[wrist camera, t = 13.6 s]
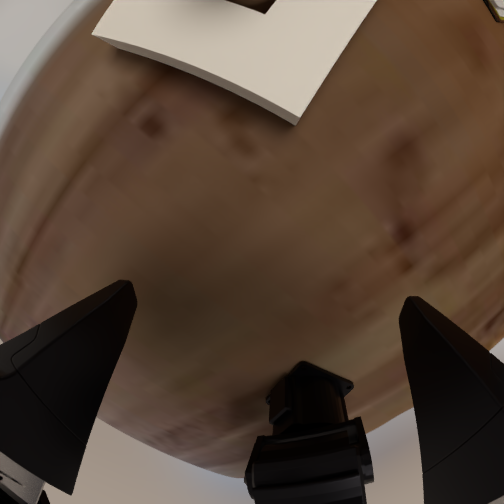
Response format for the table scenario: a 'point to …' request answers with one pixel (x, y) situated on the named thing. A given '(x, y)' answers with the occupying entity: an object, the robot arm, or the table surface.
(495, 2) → the harmonica
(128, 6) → the white board
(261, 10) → the walnut peg
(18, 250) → the table surface
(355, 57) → the table surface
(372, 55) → the table surface
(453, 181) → the table surface
